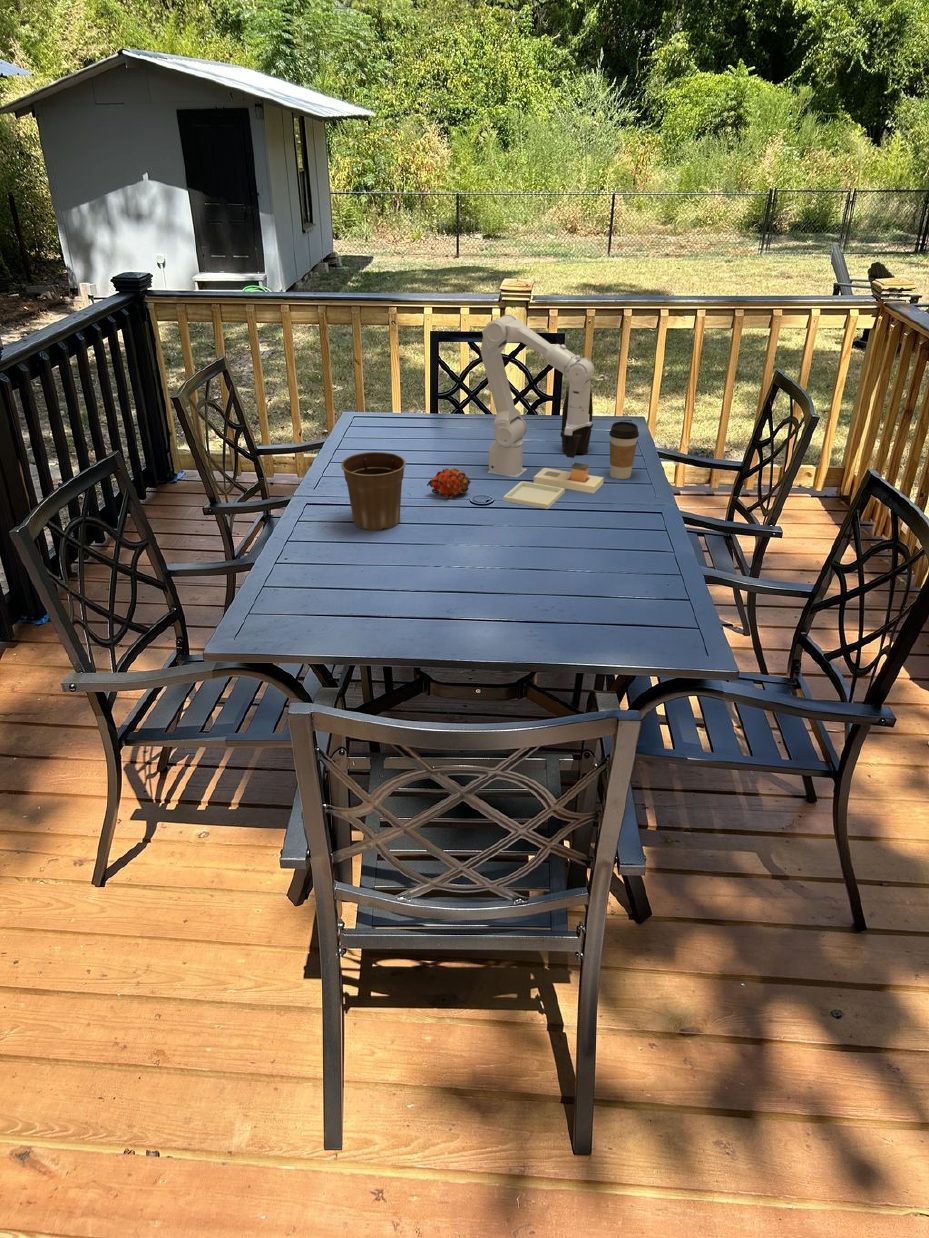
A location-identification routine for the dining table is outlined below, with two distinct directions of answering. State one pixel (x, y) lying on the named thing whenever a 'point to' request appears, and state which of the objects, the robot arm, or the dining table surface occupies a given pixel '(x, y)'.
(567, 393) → the portable speaker
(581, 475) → the plug
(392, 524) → the plant pot
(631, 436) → the coffee cup
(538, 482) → the power strip
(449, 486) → the red lumpy ovoid
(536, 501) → the tray
